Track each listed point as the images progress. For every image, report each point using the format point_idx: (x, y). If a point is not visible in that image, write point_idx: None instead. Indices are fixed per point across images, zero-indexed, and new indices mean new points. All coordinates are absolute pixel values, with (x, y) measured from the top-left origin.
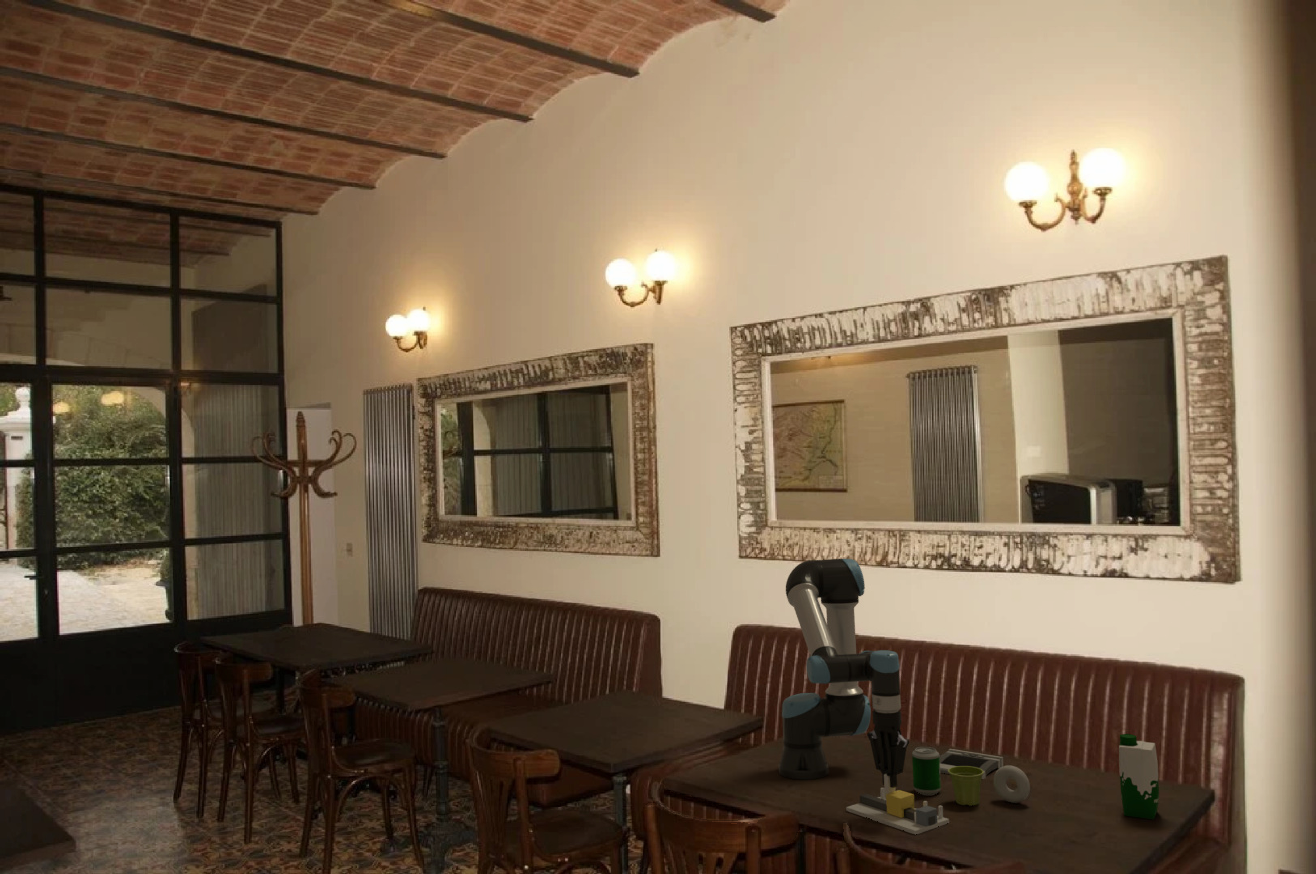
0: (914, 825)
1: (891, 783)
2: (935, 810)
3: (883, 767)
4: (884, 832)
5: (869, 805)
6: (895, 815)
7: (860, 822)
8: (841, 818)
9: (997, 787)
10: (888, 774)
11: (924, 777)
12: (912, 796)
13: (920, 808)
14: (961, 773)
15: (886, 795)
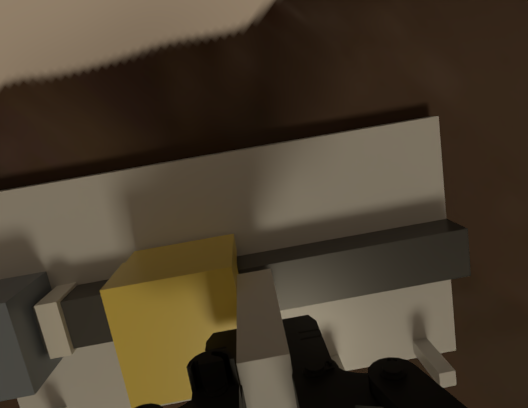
0: (23, 245)
1: (226, 348)
2: None
3: (307, 404)
4: (69, 85)
5: (380, 231)
6: (176, 245)
7: (255, 72)
8: (358, 22)
9: None
10: (203, 363)
11: None
12: (130, 391)
13: (6, 335)
14: None
15: (228, 264)
